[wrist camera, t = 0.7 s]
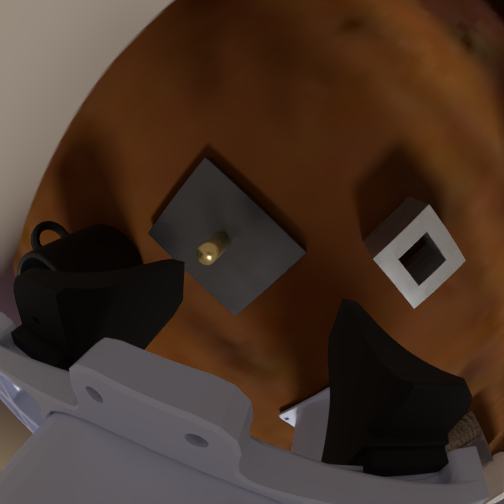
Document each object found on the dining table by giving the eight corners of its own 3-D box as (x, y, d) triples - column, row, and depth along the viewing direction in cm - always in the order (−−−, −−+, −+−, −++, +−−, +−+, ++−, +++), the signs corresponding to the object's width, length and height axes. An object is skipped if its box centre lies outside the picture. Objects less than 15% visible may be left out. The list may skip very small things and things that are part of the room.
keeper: (306, 248, 21) (304, 268, 17) (238, 310, 24) (224, 336, 20) (209, 157, 20) (187, 157, 16) (154, 230, 23) (127, 243, 19)
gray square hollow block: (443, 243, 18) (465, 260, 14) (399, 284, 20) (414, 308, 16) (408, 195, 18) (429, 204, 14) (362, 240, 20) (372, 258, 16)
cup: (511, 451, 24) (522, 485, 14) (475, 475, 27) (482, 510, 17) (510, 439, 23) (523, 479, 13) (469, 467, 26) (477, 508, 16)
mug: (96, 183, 23) (21, 200, 14) (164, 286, 25) (105, 340, 16) (57, 235, 26) (-2, 262, 18) (114, 321, 28) (64, 367, 20)
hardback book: (357, 503, 35) (356, 521, 30) (304, 482, 33) (301, 505, 29) (488, 443, 24) (494, 463, 20) (471, 407, 23) (481, 434, 18)
